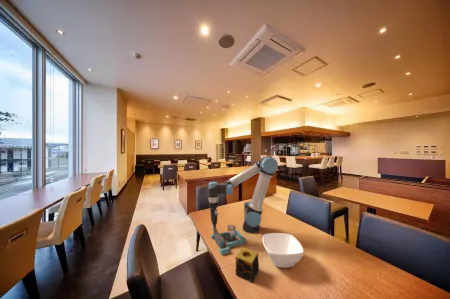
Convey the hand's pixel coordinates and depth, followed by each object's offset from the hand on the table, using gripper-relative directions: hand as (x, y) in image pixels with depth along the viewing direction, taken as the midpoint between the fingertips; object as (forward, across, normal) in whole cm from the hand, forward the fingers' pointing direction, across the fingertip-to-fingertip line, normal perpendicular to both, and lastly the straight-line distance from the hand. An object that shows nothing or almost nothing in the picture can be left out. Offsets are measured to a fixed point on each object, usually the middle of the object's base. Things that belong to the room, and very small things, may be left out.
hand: (214, 231), depth 122 cm
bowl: (+5, +44, +29) cm, 52 cm away
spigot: (+4, +10, +11) cm, 15 cm away
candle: (+5, +42, +5) cm, 43 cm away
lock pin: (+4, +9, 0) cm, 10 cm away
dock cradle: (+4, +11, +8) cm, 14 cm away
